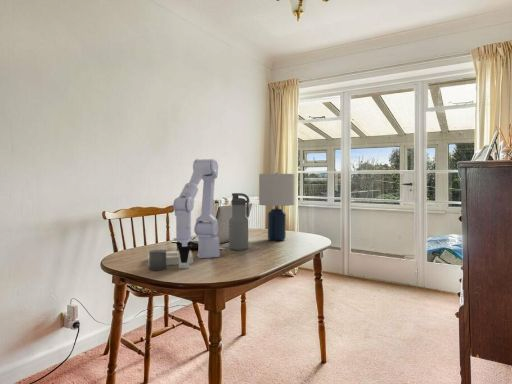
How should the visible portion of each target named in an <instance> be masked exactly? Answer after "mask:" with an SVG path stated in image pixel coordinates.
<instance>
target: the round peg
mask: <svg viewBox="0 0 512 384" xmlns="http://www.w3.org/2000/svg"><path fill="white" fill-rule="evenodd" d="M166 252H167V250H166V249H153V250H152V249H151V250H149V251H148V255H149V266H148V267H149V269H148V270H149V271H151V272H161V271H165V270H167V265H166Z"/></svg>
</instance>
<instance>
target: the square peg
mask: <svg viewBox="0 0 512 384" xmlns="http://www.w3.org/2000/svg"><path fill="white" fill-rule="evenodd" d="M177 251H178V264H177V265H178V269H180V270H181V269H190V265H191V264H190V252H189V254H188V260H187V263H181V258H180V253H179V250H178V249H177Z"/></svg>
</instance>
